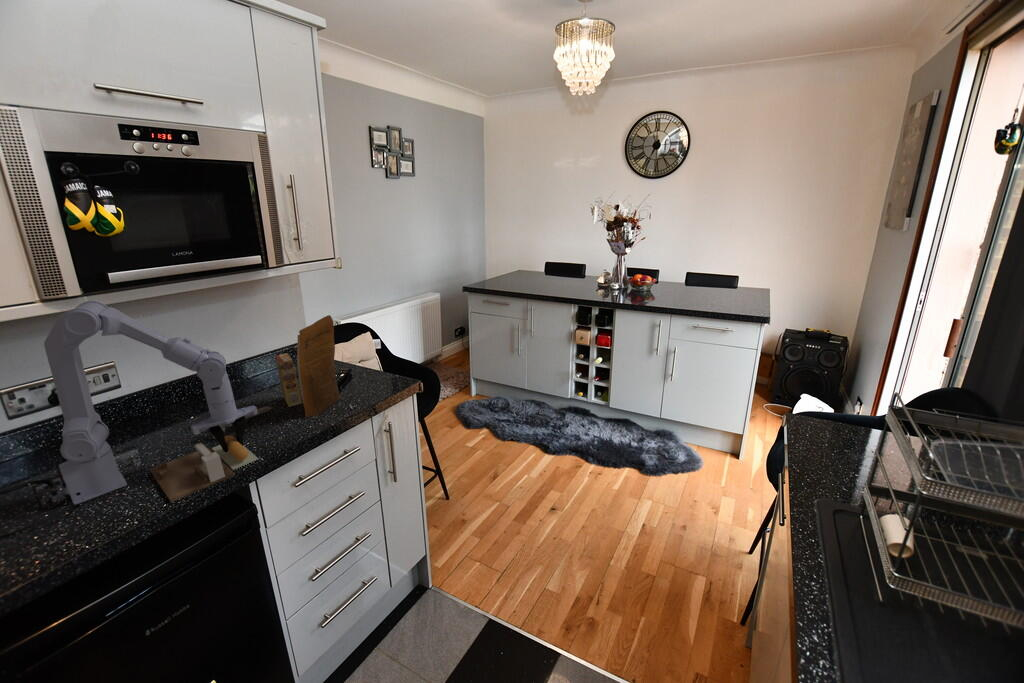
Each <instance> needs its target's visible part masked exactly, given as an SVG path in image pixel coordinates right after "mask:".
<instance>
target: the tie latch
mask: <svg viewBox="0 0 1024 683" xmlns="http://www.w3.org/2000/svg"><path fill="white" fill-rule="evenodd" d="M194 447H195V450H196V452H197V451H198V452H199V453H200V454H201V455H202V456H203V457H201V459H202V462H203V466H204V469H205V473H206V475H207V479H208V480H209V481H210V482H214V481H216V480H218V479H221V478H223V477H225V474H224V470H223V467H222V463H221V460H222V459H221V458H220V456H219V455H218V454H217V453H216V452H214V451H213V453H211V452H210V451H209V450H208V449H207V448H208V447H206V445H204V444H203V443H202V442H199V443H196V444H194Z"/></svg>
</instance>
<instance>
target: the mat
mask: <svg viewBox="0 0 1024 683" xmlns="http://www.w3.org/2000/svg"><path fill="white" fill-rule="evenodd" d="M243 447H244V448H245V449H246V450H247V451H248V456H247V458H246V459H244V460H237V459H236V458H235V457H234V456H233V455H232V454H231V453H230V452H229V451H228V452H226V453H225V452H224V451H223V449H222V447H221V445H220V444H218V445H217V446H213V447H212V448H211V450H212V451H213V452H216V453H217V454H218V455H219V456H220V459H221V460H222V461H223V462H224V463H225V464H226V465H227V466H228V467H229V468H230V469H231V470H232V471H233V470H234V471H236V470H238V468H239V469H241V468H243V467H242V466H244V467H246V466H248V465H250V464H249V463H251V464H253V463H255V462H254V461H256V460H258V461H259V458H258V456H256V454H254V453H253V452H252V451H251V450H249V449H248V448H247V447H246V446H245V445H243ZM252 462H253V463H252ZM256 462H257V461H256ZM247 464H248V465H247ZM245 465H246V466H245ZM240 467H241V468H240ZM235 469H236V470H235Z"/></svg>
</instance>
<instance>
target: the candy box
mask: <svg viewBox="0 0 1024 683" xmlns="http://www.w3.org/2000/svg"><path fill="white" fill-rule="evenodd" d="M274 362H275V365H276V369H277V372H278V379H279V381H280V386H281V387H280V388H281V391H282V395H283V398H284V401H285V402H286V404H287V406H288V407H289V408H290V407H294V406H298V405H301V404H302V403H303V402H302V398H301V397H302V396H301V394H300V389H299V384H298V378H297V373H296V371H295V370H296V369H295V365H294V360H293V359H292V357H291V356H290V355H289V354H288V353H287V352H286V353H282V354H276V355H274Z"/></svg>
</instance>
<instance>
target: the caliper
mask: <svg viewBox="0 0 1024 683" xmlns="http://www.w3.org/2000/svg"><path fill="white" fill-rule="evenodd" d="M272 409H273V407H271V406H264V407H261V408H257V412H258V414H255V415H253V414H252V415H249V416H246V417H245V419H246V420H247V419H249V418H252V417H257V416H258V415H261V414H265V413H267V412H269V411H270V410H272ZM220 427H221V429H222V430H223V431H224V433H225V430H226V427H227V428H228V427H233V425H232V423H229V424H223V425H220ZM212 438H213V439H214V440H217V439H216V438H215V437H214V436H213V435H212Z"/></svg>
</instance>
